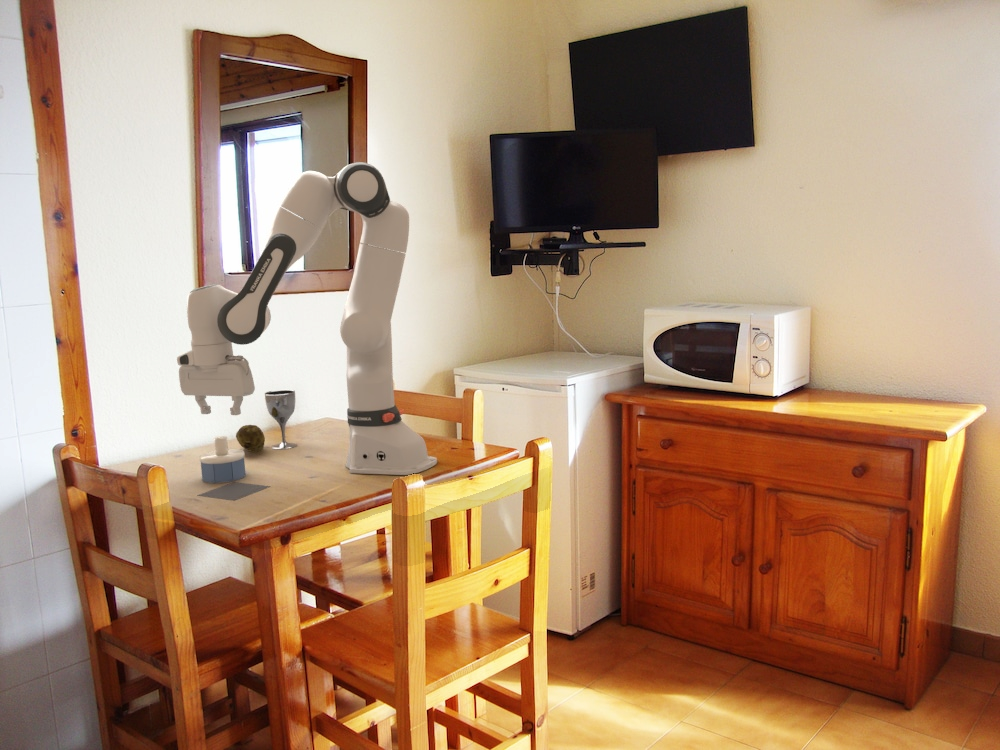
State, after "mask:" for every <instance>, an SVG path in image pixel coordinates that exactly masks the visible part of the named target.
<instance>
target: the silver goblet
mask: <svg viewBox="0 0 1000 750" xmlns="http://www.w3.org/2000/svg"><path fill="white" fill-rule="evenodd" d="M264 401H265V405H266V409H267V412H268V414H269V415H270V416H271V417H272V418H273V420H275V421H276V422H277V423H278V425H279V427H280V431H281V438H282V439H281V442H280V443H276V444H273V445H272V446H271V447H270V448H271V449H272V450H287V449H291V448H292V449H294V448H295V447H297V446H298V445H299V444H298V443H296V442H289V441H287V440H286V425H287V422H288V421H289V419H291V417H292V415H293V413H294V412H295V409H296V391H295V390H294V389H278V390H277V389H276V390H271V391H266V392H264Z"/></svg>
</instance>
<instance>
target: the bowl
mask: <svg viewBox="0 0 1000 750" xmlns="http://www.w3.org/2000/svg"><path fill="white" fill-rule="evenodd" d="M245 463H246V462H245V457H244V458H242V459H240V460H237V461H234V462H229V463H222V464H205V463H201V462H200V467H201V468H200V469H201V480H202V481H203V482H205V483H209V484H219V483H220V484H221V483H229V482H230V483H231V482H236V481H237V480H240V479H243V478H245V477H246V474H247V473H246V464H245Z"/></svg>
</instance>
